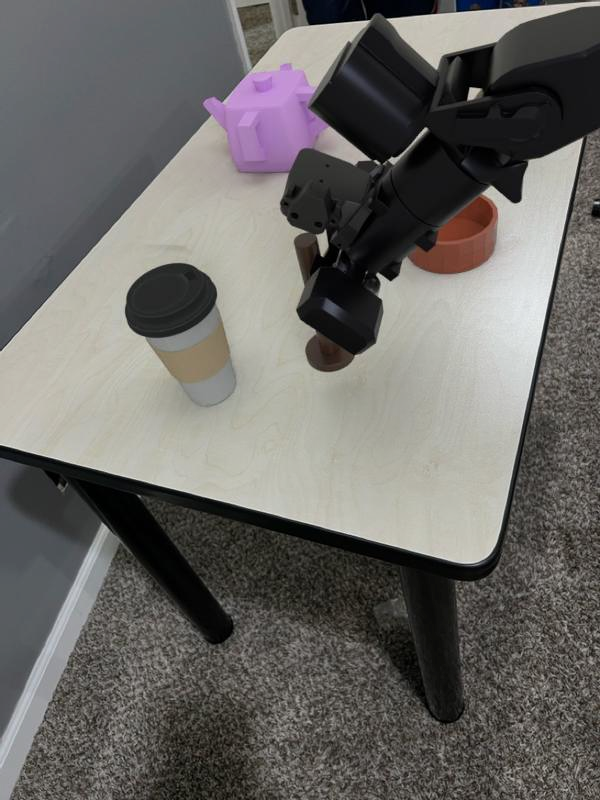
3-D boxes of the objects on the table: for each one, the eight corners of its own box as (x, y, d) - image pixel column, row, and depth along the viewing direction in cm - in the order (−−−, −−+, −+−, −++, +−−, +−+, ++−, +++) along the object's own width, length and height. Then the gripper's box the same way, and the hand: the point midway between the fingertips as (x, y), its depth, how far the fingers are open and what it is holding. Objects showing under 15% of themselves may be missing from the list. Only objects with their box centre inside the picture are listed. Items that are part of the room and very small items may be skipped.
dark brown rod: (356, 333, 61) (336, 217, 50) (355, 370, 58) (334, 255, 47) (308, 338, 62) (278, 225, 51) (305, 374, 59) (273, 262, 48)
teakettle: (256, 191, 94) (235, 114, 85) (215, 152, 105) (192, 79, 95) (348, 148, 97) (337, 68, 88) (298, 114, 108) (284, 40, 98)
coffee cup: (265, 367, 70) (229, 266, 58) (222, 429, 65) (174, 332, 54) (201, 349, 74) (155, 251, 62) (156, 406, 69) (98, 311, 58)
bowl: (477, 210, 80) (478, 180, 77) (509, 260, 73) (512, 229, 70) (396, 232, 81) (393, 203, 77) (420, 283, 74) (419, 253, 70)
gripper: (360, 60, 46) (262, 190, 58) (298, 202, 36) (194, 326, 47) (463, 150, 50) (351, 256, 62) (436, 305, 39) (307, 396, 51)
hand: (305, 301), depth 55 cm, fingers closed on dark brown rod
